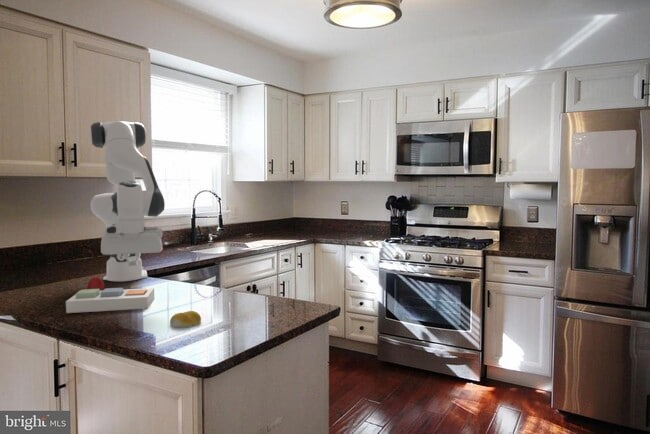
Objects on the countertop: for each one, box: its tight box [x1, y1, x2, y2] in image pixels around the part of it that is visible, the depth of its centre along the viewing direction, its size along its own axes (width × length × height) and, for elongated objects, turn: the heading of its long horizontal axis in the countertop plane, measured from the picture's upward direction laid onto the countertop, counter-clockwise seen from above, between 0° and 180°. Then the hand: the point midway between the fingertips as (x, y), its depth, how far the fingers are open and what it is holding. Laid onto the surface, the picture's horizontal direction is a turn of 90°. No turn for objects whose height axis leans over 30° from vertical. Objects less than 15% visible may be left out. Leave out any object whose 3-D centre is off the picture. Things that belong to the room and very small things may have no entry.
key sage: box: [75, 288, 100, 298], centre depth 164 cm, size 6×6×3 cm
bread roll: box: [169, 310, 202, 329], centre depth 144 cm, size 8×9×4 cm
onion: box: [86, 274, 105, 291], centre depth 180 cm, size 6×6×8 cm
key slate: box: [101, 287, 124, 297], centre depth 166 cm, size 6×6×3 cm
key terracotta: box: [125, 288, 147, 296], centre depth 167 cm, size 6×6×3 cm
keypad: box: [65, 287, 155, 314], centre depth 166 cm, size 14×26×4 cm, turn 101°
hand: (132, 265), depth 167 cm, fingers closed
